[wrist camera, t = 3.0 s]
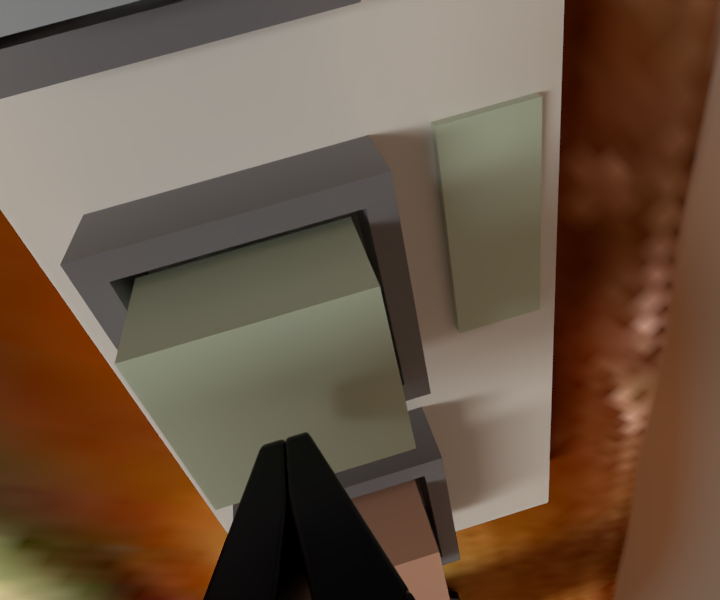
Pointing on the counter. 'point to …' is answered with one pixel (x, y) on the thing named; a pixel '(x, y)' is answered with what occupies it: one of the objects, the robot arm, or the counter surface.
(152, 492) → the counter surface
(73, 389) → the counter surface
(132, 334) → the sage button
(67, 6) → the slate button
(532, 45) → the button panel
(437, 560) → the terracotta button
